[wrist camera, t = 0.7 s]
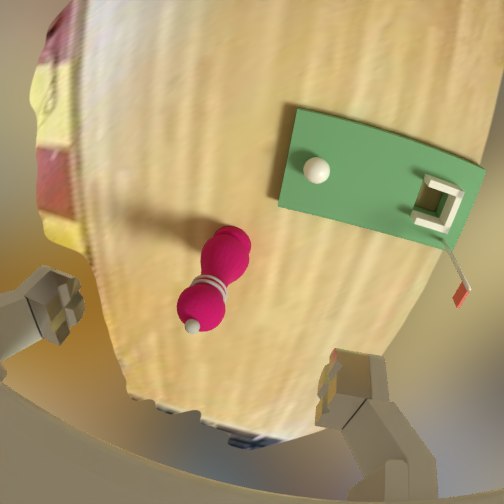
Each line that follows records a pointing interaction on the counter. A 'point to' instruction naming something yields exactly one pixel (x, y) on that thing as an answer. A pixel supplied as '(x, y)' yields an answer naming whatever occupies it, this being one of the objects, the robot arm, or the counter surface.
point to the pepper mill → (214, 279)
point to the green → (380, 182)
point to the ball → (316, 170)
